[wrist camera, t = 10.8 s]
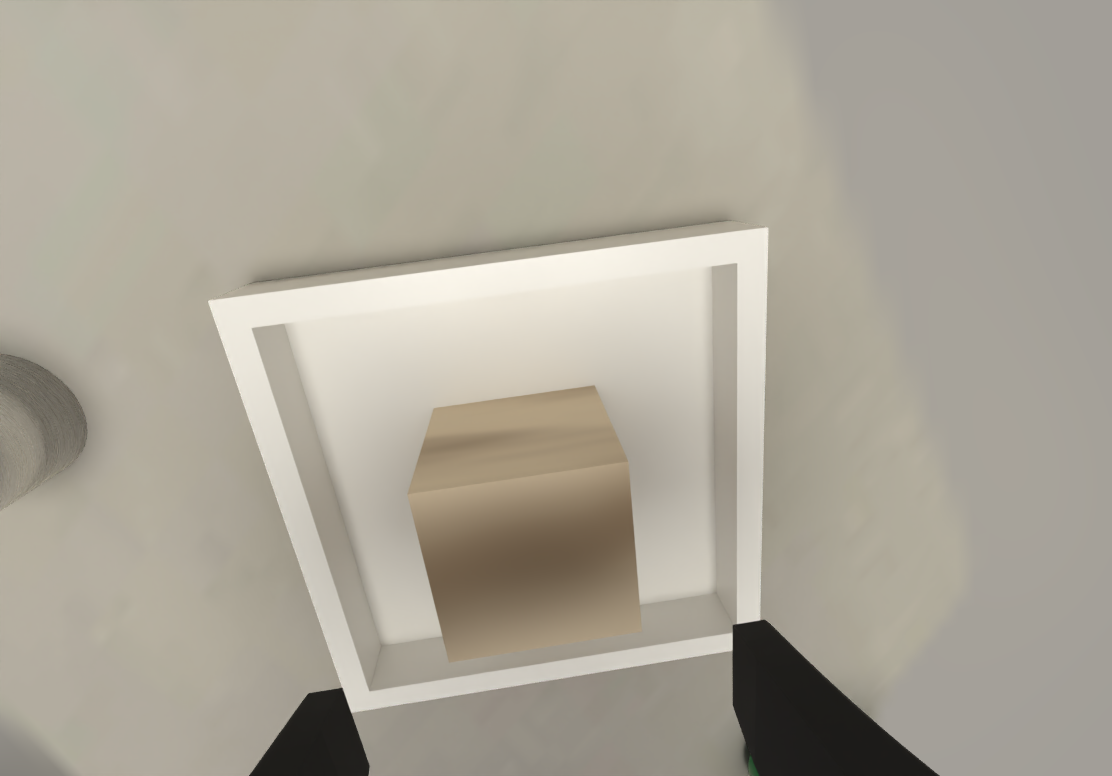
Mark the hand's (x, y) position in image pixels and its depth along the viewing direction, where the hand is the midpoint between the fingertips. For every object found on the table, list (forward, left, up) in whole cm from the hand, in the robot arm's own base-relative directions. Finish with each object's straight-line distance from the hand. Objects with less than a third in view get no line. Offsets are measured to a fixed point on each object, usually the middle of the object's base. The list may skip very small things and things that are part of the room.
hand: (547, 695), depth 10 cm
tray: (0, 0, -9) cm, 9 cm away
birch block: (0, 0, -8) cm, 8 cm away
